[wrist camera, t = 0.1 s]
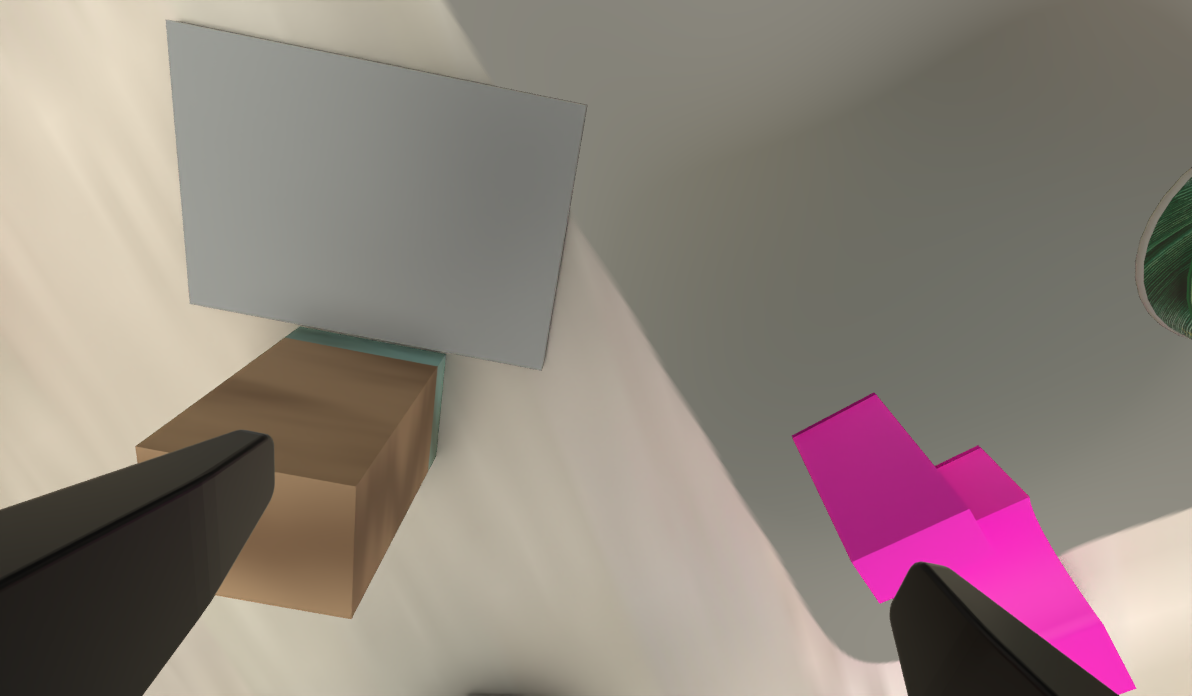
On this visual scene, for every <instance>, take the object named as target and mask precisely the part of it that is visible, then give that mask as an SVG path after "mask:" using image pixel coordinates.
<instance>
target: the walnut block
mask: <svg viewBox="0 0 1192 696" xmlns="http://www.w3.org/2000/svg"><path fill="white" fill-rule="evenodd" d="M445 359H446V354H442V353H437V352H432V351H426V350H421V349H416V348H411V347H405V346H400V345H395V344H389V343H384V342H379V341H374V340H368V339H363V338H358V337H353V336H347V335H342V334H337V333H332V332H326V331H321V330H316V329H311V328H305V327H299V328H297V329H296V330H294V331H293V332H292V333H290V334H289V335H288V336H286V337H285V338H283V339H282V340H281V341H279V342H278V343H277V344H275V345H274V346H272V347H271V348H270V349H268V350H267V351H266V352H264V353H263V354H262V355H260V356H259V357H257V358H256V359H255V360H253V361H252V362H251V363H249V364H248V365H246V366H245V367H244V368H242V369H241V370H240V371H238V372H237V373H235V374H234V375H233V376H231V377H230V378H229V379H227V380H226V381H225V382H223V383H222V384H220V385H219V386H218V387H216V388H215V389H214V390H212V391H211V392H209V393H208V394H207V395H205V396H204V397H203V398H201V399H200V400H198V401H197V402H196V403H194V404H193V405H192V406H190V407H189V408H187V409H186V410H185V411H183V412H182V413H181V414H179V415H178V416H177V417H175V418H174V419H172V420H171V421H170V422H168V423H167V424H166V425H164V426H163V427H161V428H160V429H159V430H157V431H156V432H155V433H153V434H152V435H150V436H149V437H148V438H146V439H145V440H144V441H142V442H141V443H139V444H138V445H137V446H135V447H136V454H137V462H138V463H141V462H144V461H147V460H150V459H152V458H155V457H158V456H161V455H164V454H167V453H170V452H173V451H176V450H179V449H182V448H185V447H188V446H191V445H194V444H197V443H200V442H203V441H206V440H209V439H212V438H215V437H218V436H221V435H224V434H227V433H230V432H233V431H236V430H249V431H254V432H259V433H264V434H268V435H269V436H271V437H272V439H273V441H274V455H275V487H274V492H273V496H272V498H271V501H270V502H269V504H268V506H267V508H266V509H265V511H264V513H263V515H262V516H261V518H260V520H259V521H258V523H257V525H256V527H255V528H254V530H253V532H252V533H251V535H250V537H249V539H248V540H247V542H246V544H245V545H244V547H243V549H242V550H241V552H240V554H239V556H238V557H237V559H236V561H235V562H234V564H233V566H232V568H231V569H230V571H229V573H228V574H227V576H226V578H225V579H224V581H223V583H222V585H221V586H220V588H219V589H218V591H217V593H216V594H215V595H217V596H223V597H228V598H234V599H240V600H245V601H251V602H257V603H263V604H268V605H274V606H280V607H285V608H291V609H297V610H302V611H308V612H314V613H319V614H325V615H331V616H337V617H342V618H348V619H352V617H353V615H354V613H355V611H356V609H357V607H358V605H359V603H360V601H361V599H362V598H363V596H364V594H365V592H366V590H367V588H368V586H369V584H370V582H371V580H372V578H373V576H374V574H375V573H376V571H377V569H378V567H379V565H380V563H381V561H382V559H383V557H384V555H385V553H386V551H387V549H388V547H389V546H390V544H391V542H392V540H393V538H394V536H395V534H396V532H397V530H398V528H399V526H400V524H401V522H402V521H403V519H404V517H405V515H406V513H407V511H408V509H409V507H410V505H411V503H412V501H413V499H414V497H415V495H416V494H417V492H418V490H419V488H420V486H421V484H422V482H423V480H424V478H425V476H426V474H427V472H428V470H429V469H430V467H431V465H432V463H433V461H434V459H435V457H436V452H437V442H438V432H439V421H440V411H441V401H442V390H443V380H444V370H445Z"/></svg>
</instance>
